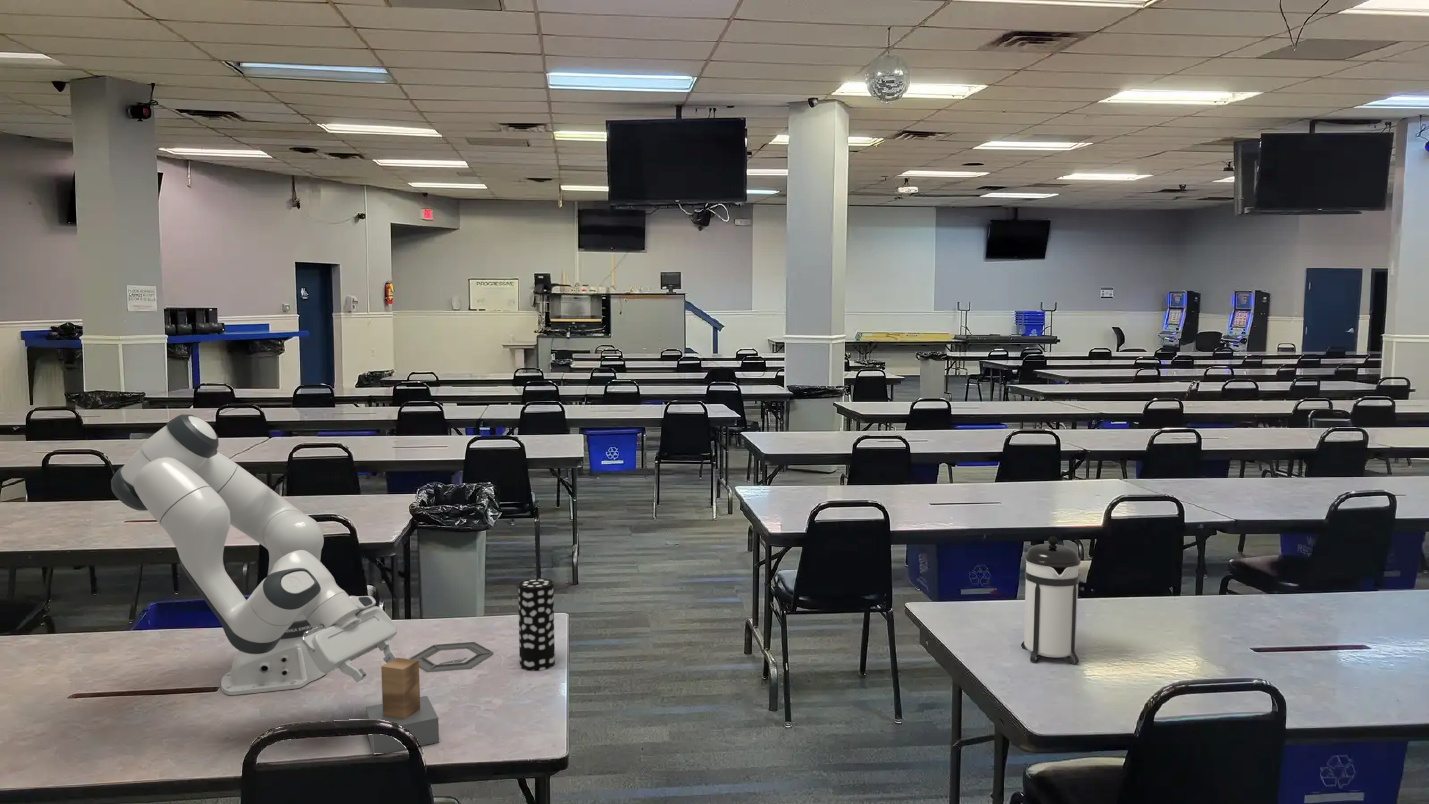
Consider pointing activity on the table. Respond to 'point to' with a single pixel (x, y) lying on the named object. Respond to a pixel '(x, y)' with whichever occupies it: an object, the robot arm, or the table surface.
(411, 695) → the oak block
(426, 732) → the block
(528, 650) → the spotted tube
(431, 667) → the grey hexagonal ring
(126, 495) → the robot arm
